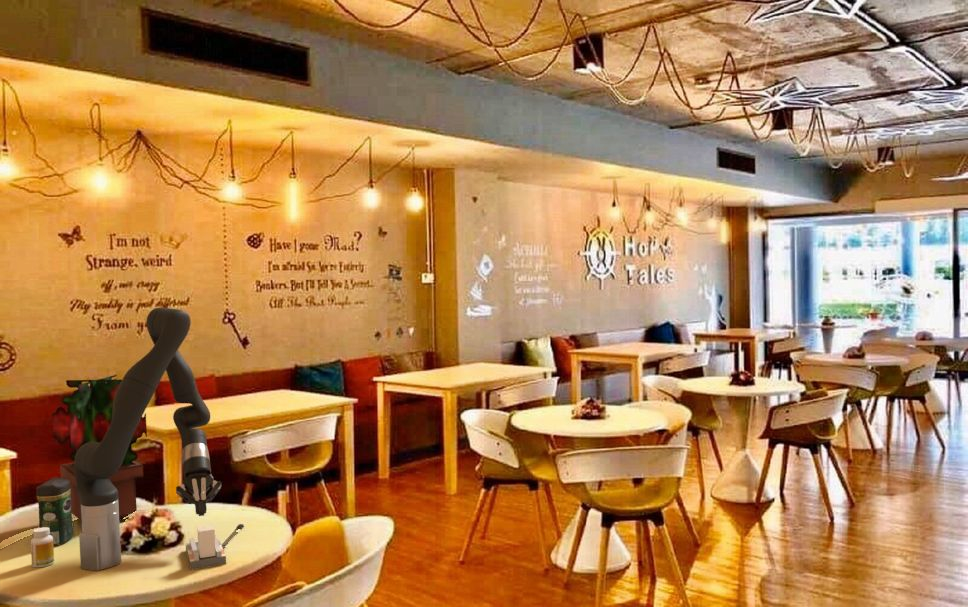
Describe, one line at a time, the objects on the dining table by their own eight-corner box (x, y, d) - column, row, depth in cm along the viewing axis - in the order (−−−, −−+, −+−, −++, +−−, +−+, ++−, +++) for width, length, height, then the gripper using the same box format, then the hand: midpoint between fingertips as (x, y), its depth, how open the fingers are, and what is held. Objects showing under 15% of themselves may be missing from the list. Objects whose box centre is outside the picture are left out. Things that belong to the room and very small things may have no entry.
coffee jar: (51, 536, 245) (47, 476, 244) (77, 535, 245) (74, 475, 244) (34, 548, 235) (31, 484, 234) (62, 547, 235) (58, 483, 234)
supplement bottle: (59, 561, 223) (57, 527, 223) (42, 569, 218) (40, 533, 218) (43, 559, 225) (42, 525, 225) (27, 566, 220) (25, 531, 219)
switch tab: (198, 553, 220) (197, 527, 220) (213, 550, 222) (212, 525, 222) (199, 558, 217) (198, 531, 216) (215, 555, 218) (214, 529, 218)
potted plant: (129, 504, 277) (122, 373, 274) (150, 518, 260) (144, 379, 257) (57, 518, 262) (50, 380, 260) (75, 535, 246) (67, 387, 243)
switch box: (185, 550, 229) (185, 538, 229) (219, 545, 233) (218, 533, 233) (190, 569, 215) (190, 556, 215) (226, 563, 219) (225, 551, 218)
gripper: (172, 457, 234) (176, 511, 223) (220, 452, 239) (226, 504, 228) (172, 471, 239) (176, 524, 228) (219, 466, 244) (225, 517, 233)
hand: (201, 514), depth 228 cm, fingers closed
